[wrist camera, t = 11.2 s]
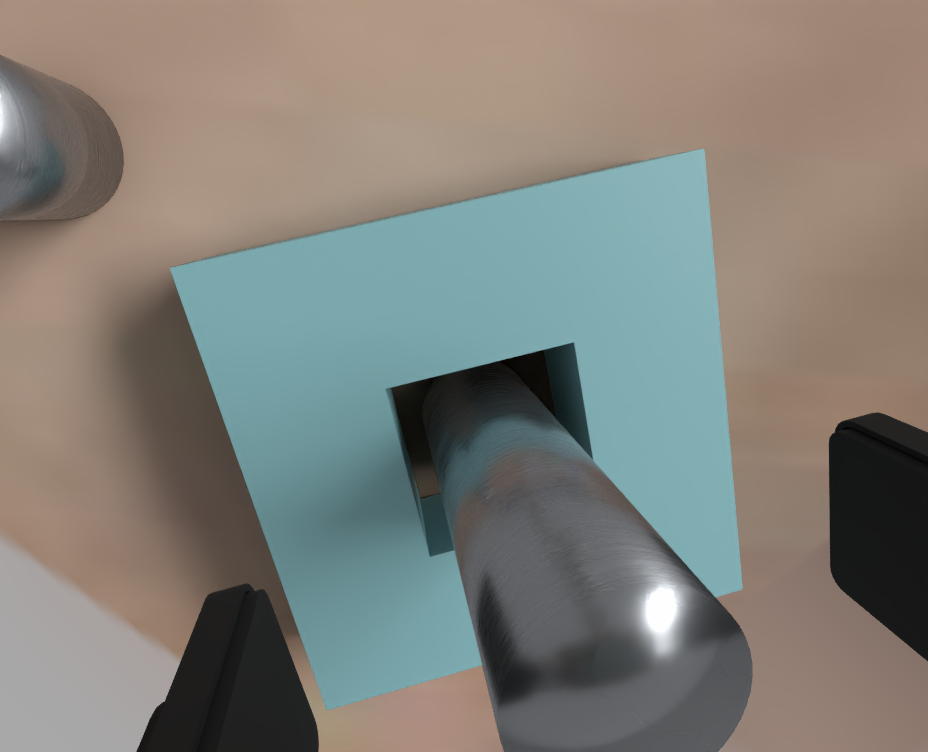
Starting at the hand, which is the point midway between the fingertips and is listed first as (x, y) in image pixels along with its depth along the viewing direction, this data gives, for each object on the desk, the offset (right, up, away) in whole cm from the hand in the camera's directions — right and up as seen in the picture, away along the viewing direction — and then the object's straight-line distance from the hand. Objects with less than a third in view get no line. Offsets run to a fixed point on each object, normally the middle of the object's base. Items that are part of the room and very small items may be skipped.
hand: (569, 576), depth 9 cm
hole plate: (-1, +2, +10) cm, 10 cm away
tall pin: (-1, +2, +10) cm, 10 cm away
